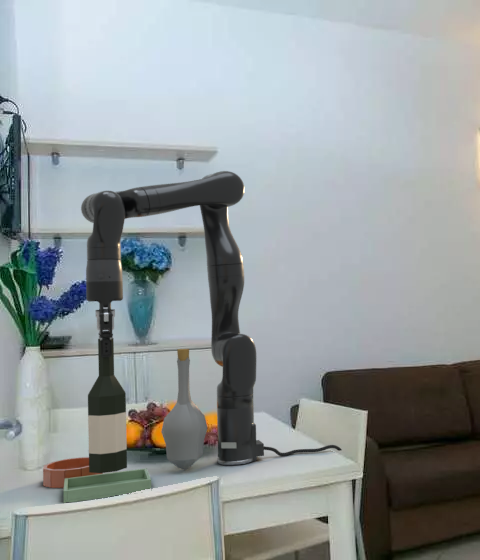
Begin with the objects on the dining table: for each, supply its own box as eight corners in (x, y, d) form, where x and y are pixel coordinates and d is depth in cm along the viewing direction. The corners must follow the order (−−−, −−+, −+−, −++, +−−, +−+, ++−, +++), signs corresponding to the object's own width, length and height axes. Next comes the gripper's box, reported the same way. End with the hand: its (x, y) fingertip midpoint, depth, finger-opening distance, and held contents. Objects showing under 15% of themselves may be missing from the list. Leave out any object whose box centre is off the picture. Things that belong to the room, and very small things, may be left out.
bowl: (101, 470, 170) (101, 454, 170) (103, 482, 159) (103, 465, 159) (44, 477, 165) (44, 461, 165) (42, 490, 153) (41, 473, 153)
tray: (147, 479, 161) (146, 468, 161) (151, 491, 151) (151, 479, 151) (64, 490, 153) (64, 478, 154) (63, 503, 143) (63, 491, 143)
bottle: (155, 469, 170) (153, 349, 171) (199, 461, 177) (197, 346, 178) (169, 478, 161) (167, 351, 162) (215, 470, 168) (213, 348, 169)
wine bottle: (133, 463, 157) (131, 333, 157) (119, 472, 148) (117, 335, 149) (97, 464, 156) (94, 334, 157) (81, 474, 148) (78, 336, 149)
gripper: (124, 279, 148) (125, 357, 148) (120, 280, 161) (122, 353, 161) (86, 279, 145) (87, 360, 145) (85, 281, 158) (87, 355, 158)
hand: (106, 356), depth 153 cm, fingers closed on wine bottle, 3 cm apart
